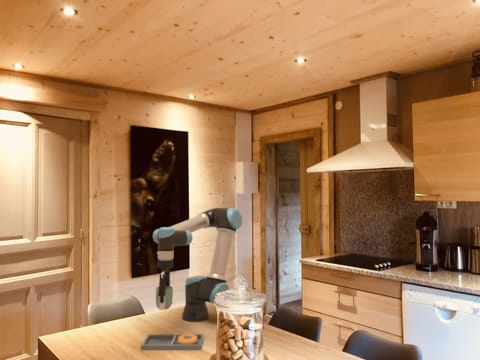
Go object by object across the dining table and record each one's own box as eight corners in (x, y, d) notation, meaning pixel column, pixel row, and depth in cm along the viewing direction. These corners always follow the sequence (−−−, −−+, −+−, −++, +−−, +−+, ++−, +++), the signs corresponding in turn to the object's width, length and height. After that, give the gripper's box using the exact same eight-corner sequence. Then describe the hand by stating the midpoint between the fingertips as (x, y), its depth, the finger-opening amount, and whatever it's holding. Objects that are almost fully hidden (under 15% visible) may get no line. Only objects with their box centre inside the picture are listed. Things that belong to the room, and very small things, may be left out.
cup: (175, 308, 187) (176, 287, 188) (164, 311, 181) (165, 290, 181) (163, 305, 191) (164, 285, 192) (152, 309, 185) (152, 287, 185)
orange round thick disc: (190, 339, 187) (190, 332, 188) (200, 344, 181) (200, 337, 181) (174, 343, 182) (174, 336, 182) (184, 349, 175) (184, 342, 175)
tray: (203, 339, 188) (203, 334, 188) (200, 351, 174) (200, 345, 174) (148, 339, 188) (148, 334, 188) (140, 351, 174) (140, 345, 174)
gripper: (162, 256, 198) (160, 301, 196) (152, 262, 177) (150, 312, 176) (176, 256, 198) (175, 302, 196) (169, 262, 177) (167, 313, 176)
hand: (163, 307), depth 186 cm, fingers closed on cup, 8 cm apart
